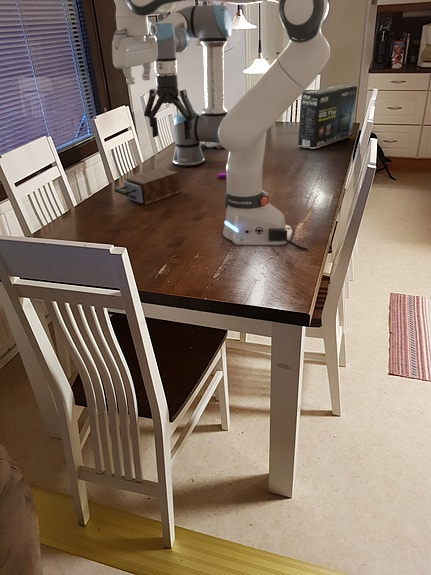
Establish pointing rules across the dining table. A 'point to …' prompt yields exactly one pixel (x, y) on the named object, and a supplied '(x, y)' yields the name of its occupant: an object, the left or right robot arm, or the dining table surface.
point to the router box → (326, 115)
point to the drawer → (132, 191)
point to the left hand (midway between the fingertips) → (171, 137)
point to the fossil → (211, 144)
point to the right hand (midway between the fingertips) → (138, 82)
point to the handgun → (222, 175)
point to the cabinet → (157, 184)
